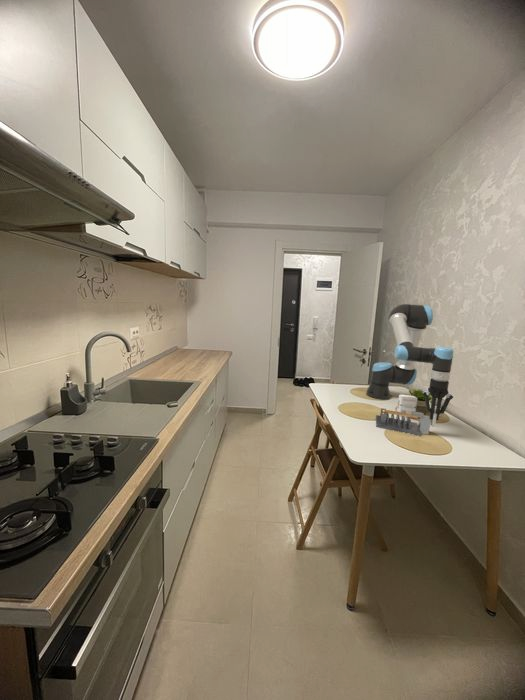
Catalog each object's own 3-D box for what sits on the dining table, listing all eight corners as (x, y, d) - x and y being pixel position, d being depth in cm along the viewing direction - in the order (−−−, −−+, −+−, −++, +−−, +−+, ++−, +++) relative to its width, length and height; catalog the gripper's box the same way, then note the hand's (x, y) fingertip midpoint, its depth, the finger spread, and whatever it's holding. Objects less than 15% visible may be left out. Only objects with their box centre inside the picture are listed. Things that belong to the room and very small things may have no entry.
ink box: (410, 414, 164) (414, 395, 162) (414, 418, 159) (418, 398, 157) (395, 413, 164) (398, 393, 162) (398, 416, 159) (402, 396, 157)
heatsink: (375, 418, 154) (377, 406, 153) (416, 426, 147) (418, 414, 146) (376, 426, 143) (378, 413, 142) (420, 436, 136) (422, 422, 135)
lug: (408, 427, 145) (411, 410, 144) (426, 430, 143) (429, 413, 141) (410, 431, 141) (413, 413, 139) (428, 434, 138) (431, 417, 136)
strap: (382, 411, 148) (382, 408, 148) (416, 416, 143) (417, 413, 143) (382, 413, 145) (382, 410, 145) (417, 419, 139) (418, 416, 139)
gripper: (426, 379, 134) (419, 426, 138) (457, 383, 130) (449, 431, 133) (423, 376, 141) (417, 420, 145) (452, 379, 137) (445, 425, 140)
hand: (432, 425), depth 139 cm, fingers closed
